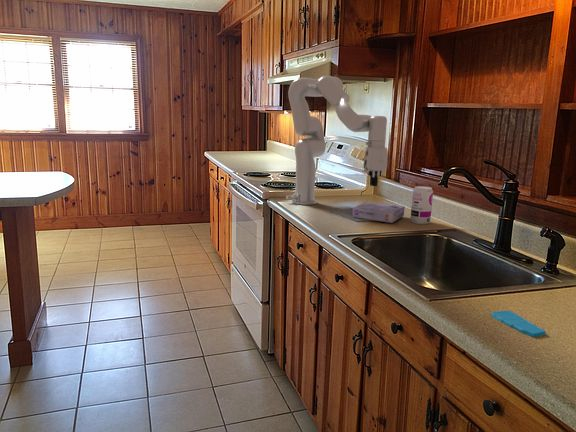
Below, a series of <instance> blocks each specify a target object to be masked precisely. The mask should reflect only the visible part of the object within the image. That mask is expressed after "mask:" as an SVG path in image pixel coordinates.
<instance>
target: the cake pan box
mask: <svg viewBox="0 0 576 432" xmlns="http://www.w3.org/2000/svg"><path fill="white" fill-rule="evenodd" d="M352 209H353V216H352V217H356V218H362V219H369V220H375V221H377V222H381V223H382V222H384V223H390V224H393V223H395V222H396V221H397V220H399V219H401V218H402V217H404V215H405V206H403V205H398V204H397V205H396V204H390V203H383V202H381V203H380V202H373V201H366V202H363V203H361V204H358V205H356V206H353V207H352Z"/></svg>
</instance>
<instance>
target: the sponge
mask: <svg viewBox="0 0 576 432" xmlns="http://www.w3.org/2000/svg"><path fill="white" fill-rule="evenodd" d="M490 316H492V318H493V319H495V320H497V321H499V322H501V323H503V324H504V323H505V324H504V325H506V326H508V327H510V328H513V329H515V330H517V331H518V332H520V333H521V332H522V334H524V335H527V336H529V337H532V338H537V337H542V336H541V335H544V336H545V335H546V334H547V333H546V330H544V328H541V327H538V326H537V325H536V324H534V323H532V322H530V321H528V319H525V318H523V317H522V316H520V315H518V314H516V313H515V312H512V311H511V310H499V311H495V312H491V313H490ZM536 336H537V337H536Z"/></svg>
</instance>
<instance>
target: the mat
mask: <svg viewBox="0 0 576 432" xmlns="http://www.w3.org/2000/svg"><path fill="white" fill-rule="evenodd" d="M330 212H331V213H334V214H336V215H339V216H341V217H344V218H346V219H348V218H349V219H348V220H351V221H354V222H356V221H357V222H356V223H361V221H364V222H371V221H372V222H373V221H376V220H369V219H362V218H356V217H352V216H353V208H346V209H345V208H343V209H330Z"/></svg>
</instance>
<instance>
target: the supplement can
mask: <svg viewBox="0 0 576 432" xmlns="http://www.w3.org/2000/svg"><path fill="white" fill-rule="evenodd" d="M433 198H434V191H433V188H432V187H430V186H424V185H422V186H414V188H413V190H412V196H411V207H410V210H411V211H410V219H409V220H410V221H411V222H412V223H414V224H416V225H417V224H418V225H427V224H429V223H430V222H431V218H432V208H433Z"/></svg>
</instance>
